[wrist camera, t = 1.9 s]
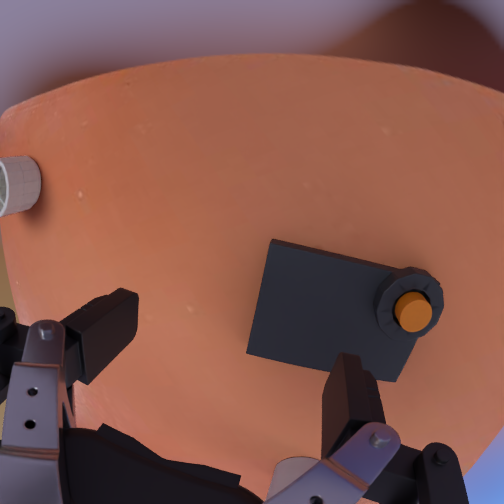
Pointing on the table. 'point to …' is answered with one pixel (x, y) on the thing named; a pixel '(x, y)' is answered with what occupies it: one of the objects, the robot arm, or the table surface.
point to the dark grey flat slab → (336, 310)
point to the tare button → (413, 312)
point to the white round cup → (18, 184)
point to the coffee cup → (289, 473)
